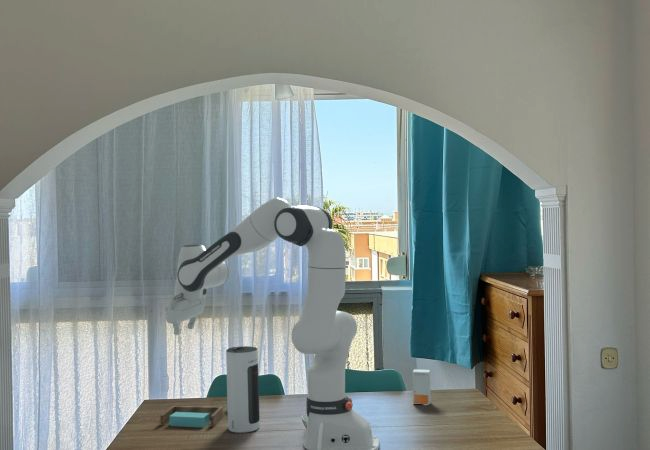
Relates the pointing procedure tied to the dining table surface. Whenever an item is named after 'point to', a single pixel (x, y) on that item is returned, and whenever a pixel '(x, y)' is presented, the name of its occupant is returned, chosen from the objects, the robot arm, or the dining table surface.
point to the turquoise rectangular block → (189, 419)
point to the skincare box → (421, 387)
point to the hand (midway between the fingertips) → (183, 331)
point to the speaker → (242, 389)
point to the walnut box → (214, 412)
